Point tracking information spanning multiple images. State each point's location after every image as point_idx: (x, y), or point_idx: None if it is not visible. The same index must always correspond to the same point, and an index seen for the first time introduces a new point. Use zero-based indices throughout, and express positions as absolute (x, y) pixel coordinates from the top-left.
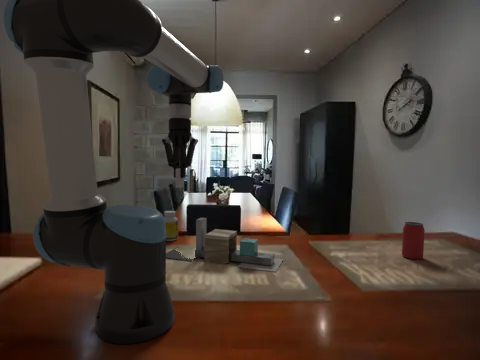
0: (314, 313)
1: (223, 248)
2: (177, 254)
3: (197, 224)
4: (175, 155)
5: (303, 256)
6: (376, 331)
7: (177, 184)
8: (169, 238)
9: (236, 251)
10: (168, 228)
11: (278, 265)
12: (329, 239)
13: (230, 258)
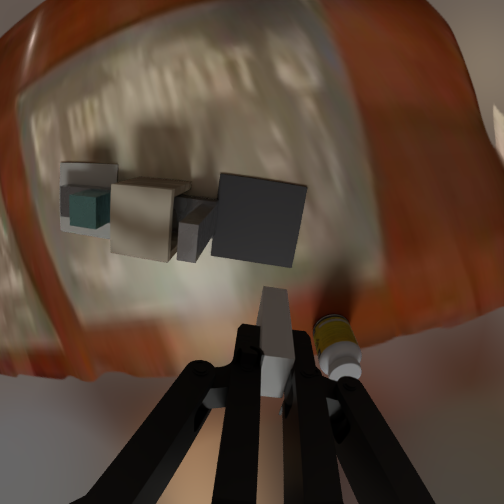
0: (33, 56)
1: (135, 181)
2: (270, 212)
3: (197, 220)
4: (307, 446)
5: (43, 258)
6: (4, 55)
7: (275, 296)
8: (328, 317)
9: None
10: (336, 331)
11: None
12: (44, 355)
13: None
